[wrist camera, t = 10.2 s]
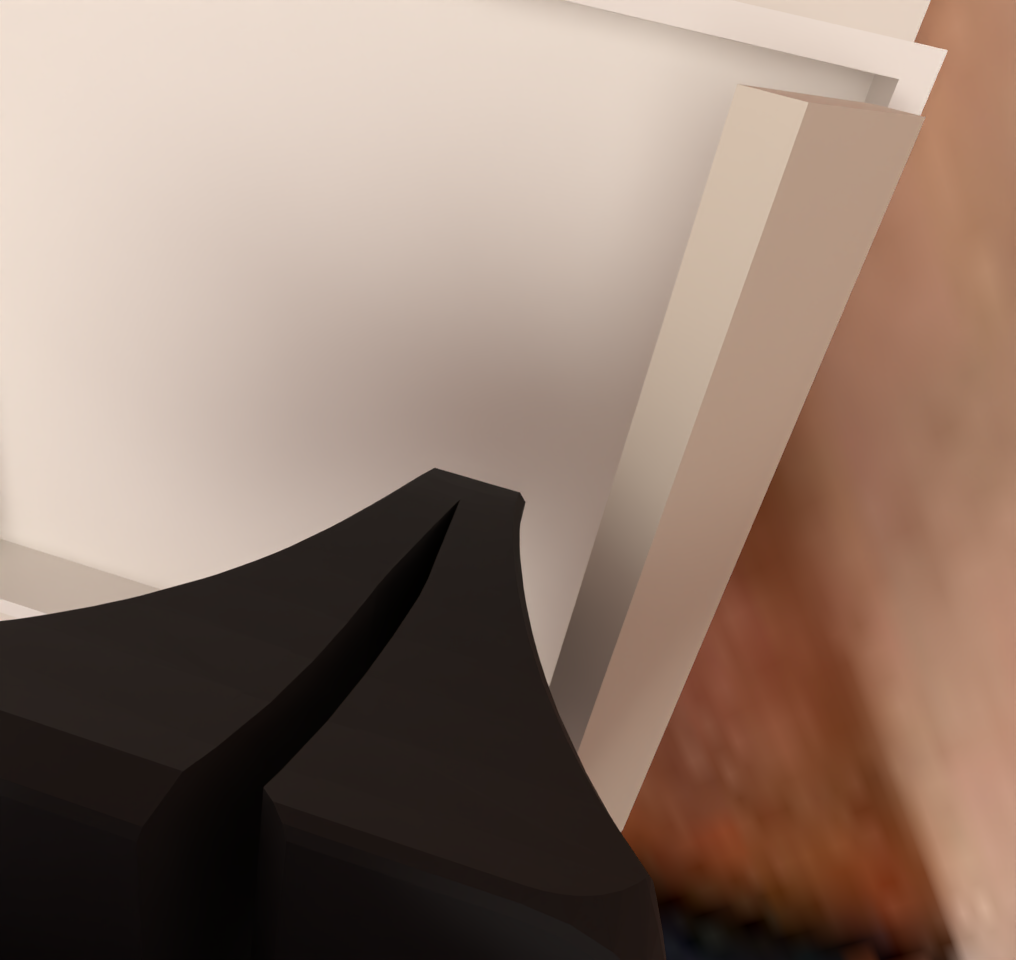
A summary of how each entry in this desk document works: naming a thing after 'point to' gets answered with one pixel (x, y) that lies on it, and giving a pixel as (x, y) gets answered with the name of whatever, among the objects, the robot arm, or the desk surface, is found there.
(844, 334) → the desk surface
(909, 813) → the desk surface
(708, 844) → the desk surface
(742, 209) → the flap
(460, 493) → the robot arm
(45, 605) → the carton
